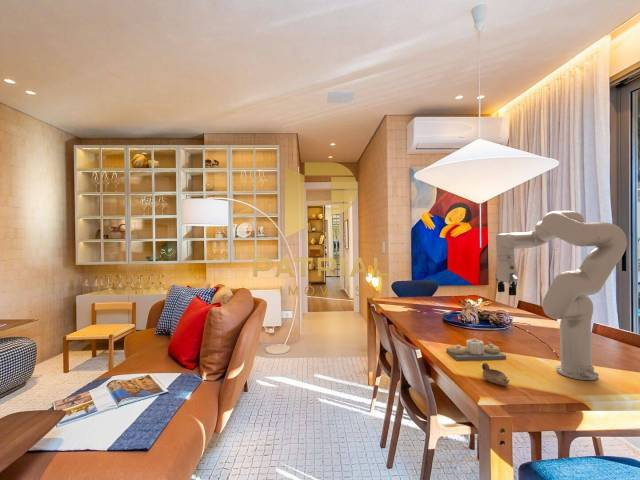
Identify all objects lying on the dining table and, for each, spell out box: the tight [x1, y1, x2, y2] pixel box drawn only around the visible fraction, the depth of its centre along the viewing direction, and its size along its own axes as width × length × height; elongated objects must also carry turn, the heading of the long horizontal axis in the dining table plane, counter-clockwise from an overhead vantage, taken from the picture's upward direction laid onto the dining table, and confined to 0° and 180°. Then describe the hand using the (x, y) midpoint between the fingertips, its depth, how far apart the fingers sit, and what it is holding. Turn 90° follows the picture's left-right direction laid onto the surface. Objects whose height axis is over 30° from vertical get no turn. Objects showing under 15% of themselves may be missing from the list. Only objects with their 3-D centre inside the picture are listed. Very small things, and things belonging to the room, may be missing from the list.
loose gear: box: [466, 338, 485, 354], centre depth 148 cm, size 7×7×5 cm
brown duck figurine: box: [481, 362, 510, 387], centre depth 122 cm, size 13×8×5 cm, turn 4°
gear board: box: [446, 338, 507, 362], centre depth 148 cm, size 12×22×8 cm, turn 89°
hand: (506, 293), depth 157 cm, fingers open, 9 cm apart
